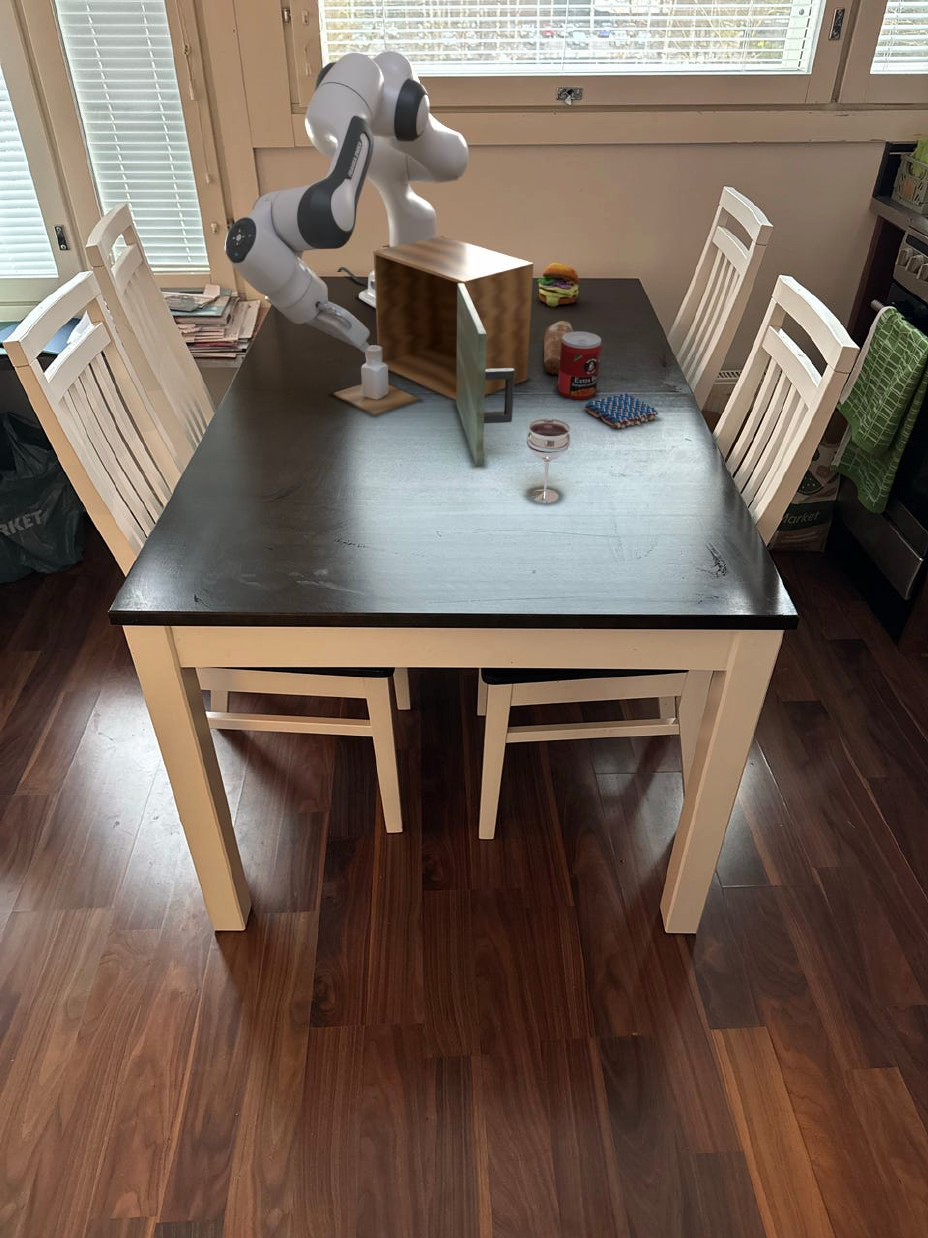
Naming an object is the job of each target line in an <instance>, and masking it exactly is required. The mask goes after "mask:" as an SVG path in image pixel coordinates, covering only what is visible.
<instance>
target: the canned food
mask: <svg viewBox="0 0 928 1238" xmlns="http://www.w3.org/2000/svg"><path fill="white" fill-rule="evenodd" d="M601 350H602V337H600V336H599V335H597V334H595V333H592V332H589V331H580V330H579V331H577V330H575V331H574V332H569V333H566V334H564V335H563V336H562V341H561V353H560V366H559V374H558V379H557V381H558V383H557V389H558V393H559V394H560V395H561V396H563V397H564V398H567V399H571V400H576V401H577V400H580V401H581V400H582V401H583V400H587V399H591V398H593V397H594V396H595V394H596V392H597V388H598V378H599V368H600V362H601V361H600V360H601Z"/></svg>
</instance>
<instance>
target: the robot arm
mask: <svg viewBox="0 0 928 1238" xmlns="http://www.w3.org/2000/svg"><path fill="white" fill-rule="evenodd" d="M304 124H305V125H304V126H305V130H306V133H307V136H308V138H309V141H310V142H311V143H312V145H313V146H314V147H315V149H316V150H317V151H318V152H319V153H320V154H321V155H323V156H324V157H325V158H327V159H329V160H331V163H330V166H329V169H328V171H327V174H326V175H325V177H323V178H322V179H320V180H318V181H316V182H314V183H311V184H306V185H302V186H297V187H292V188H284V189H280V190H276V191H271V192H270V191H269V192H267V193H264V194H261V196H259V197H258V198H257V200H256V201H255V202H254V204H253V206H252V210H251V212H249V214H248V215H246V216H243V217H241V218H239V219H237V220H236V221H235V222H234V223H233V224H232V225H231V227H230V228H229V230H228V232H227V234H226V237H225V240H224V252H225V254H226V257H227V259H228V261H229V263H230V264H231V266H232V267H233V268H234V270H235V271H236V273H238V274H239V276H241V278H242V279H244V281H245V282H246V283H247V284H249V286H251V288H253V289H254V290H255V291H256V292H258V293H259V294H261V295H263V296H265V300H266V301H267V302H268V303H269V304H270V305H272V306H273V307H274V308H276V309H277V310H278V311H279V312H280V313H281V314H282V315H283V316H284V317H286V318H287V319H288V320H289V321H290V322H292V323H293V324H295V325H296V324H297V325H303V324H307V325H309V326H311V327H313V328H315V329H317V330H320V331H321V332H323V333H325V335H327V336H328V337H331V338H336V339H338V340H340V341H342V342H344V343H346V344H348V345H351V346H353V347H354V348H356V349H357V350H358V351H360V352H362V353H365V352H366V350H367V349H368V347H369V346H370V344H369V342H368V341H367V340H368V338H369V337H370V335H371V332H370V330H369V328H368V327H367V326H365V325H364V324H363V323H362V322H361V321H360V320H358V318H357V317H355V316H354V315H353V314H352V313H351V312H349V311H348V310H347V309H345V308H344V307H342V306H340V305H338V304H336V303H334V302H331V301H329V297H328V295H329V290H328V286H327V284H326V282H324V280H322V278H321V277H320V276H319V275H318V274H316V273H315V272H314V270H312V269H311V267H310V266H309V265H308V264H306V263H305V262H304V261H303V254H304V252H305V251H315V250H337V249H340V248H343V247H344V246H345V245H346V244H348V243H349V240H350V239H351V237H352V235H353V233H354V230H355V226H356V221H357V212H358V210H357V209H358V205H359V200H360V196H361V194H362V190H363V187H364V184H365V180H366V179H367V180H368V181H369V182H370V183H371V184H372V185H373V186H374V188H375V190H377V192H378V193H379V195H380V197H381V199H382V202H383V203H384V206H385V207H384V208H385V210H386V214H387V215H386V216H387V223H388V235H389V244H386V245H382V248H389V247H394V246H398V245H403V244H407V243H412V242H416V241H421V240H425V239H430V238H434V237H437V213H436V210H435V208H434V207H433V205H432V204H431V203H430V202H428V201H427V200H426V199H424V198H422V197H421V196H419V195H417V194H416V193H415V192H414V190H413V189H412V186H411V183H417V184H418V183H420V184H443V183H444V184H445V183H450V182H455V181H459V180H460V179H461V178H462V177H463V176H464V174H465V173H466V171H467V168H468V166H469V161H470V152H469V147H468V143H467V142H466V139H465V138H464V136H463V135H462V134H461V133H460V132H457V131H455V130H453V129H450V128H449V127H446V126H444V125H443V124H442V123H440V122H439V121H438V120H437V119H436V118H434V117H433V116H432V114H431V113H430V95H429V93H428V91H427V90H426V88H425V85H423V84H422V83H420V79H419V77H418V75H417V73H416V71H415V69H414V67H413V64H412V63H411V62H410V60H409V59H408V58H407V57H406V56H405V55H404V54H402V53H401V52H398V51H393V50H386V51H383V52H380V53H378V54H377V55H376V56H375V57H373V58H371V57H370V56H368V55H366V54H363V53H360V52H349V53H347V54H344V55H343V56H342V57H340V58H339V59H338V60H337V61H332V62H329V63H327V64H326V65H325V66H324V67H322V69H321V70H320V71H319V73H318V75H317V79H316V83H315V89H314V94H313V95H312V98H311V99H310V102H309V103H308V106H307V109H306V113H305V116H304ZM342 271H344V272H345V273H347V274H348V275H349V276H350V277H351V278H352V279H353V280H354V281H355V282H357V283H359V284H360V285H362V286H365V287H367V288H366V289H365V290H363V291H361V292H360V293H358V298H359V300H361V301H363V302H364V303H366V304H368V305H369V306H371V307H373V308H374V309H376V297H375V274H374V269H371V270H370V273H368V279H367V283H366V282H364V281H362V280H361V279H359V278H357V276H356V275H355V274H353V273H352V271H350V270H349V269H348V268H346V267H344V266H341V267H339V268H338V270H337V272H338V273H340V272H342Z"/></svg>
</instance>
